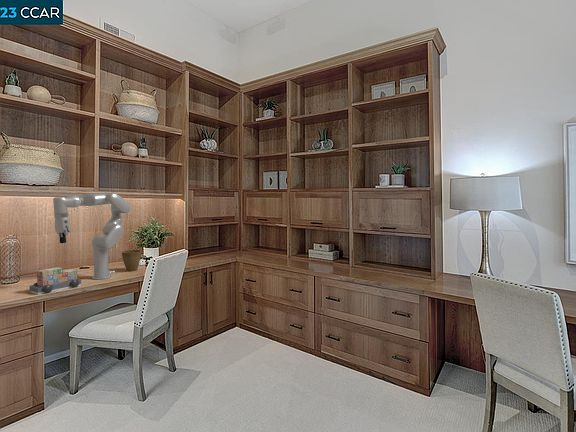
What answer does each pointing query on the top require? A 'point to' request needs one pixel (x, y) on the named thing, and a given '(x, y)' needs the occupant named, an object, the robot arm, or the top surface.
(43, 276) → the stack of blocks
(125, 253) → the plant pot
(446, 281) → the top surface
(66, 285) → the chassis
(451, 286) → the top surface
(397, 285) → the top surface
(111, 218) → the robot arm
